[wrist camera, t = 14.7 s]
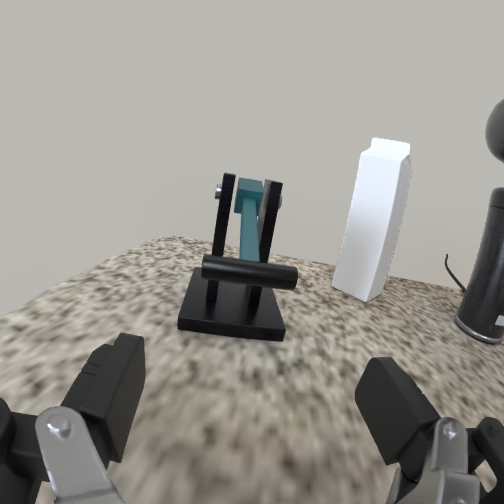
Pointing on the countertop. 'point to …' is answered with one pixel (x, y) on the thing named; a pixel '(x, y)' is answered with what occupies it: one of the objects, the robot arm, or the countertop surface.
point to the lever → (249, 249)
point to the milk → (374, 219)
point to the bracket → (231, 294)
